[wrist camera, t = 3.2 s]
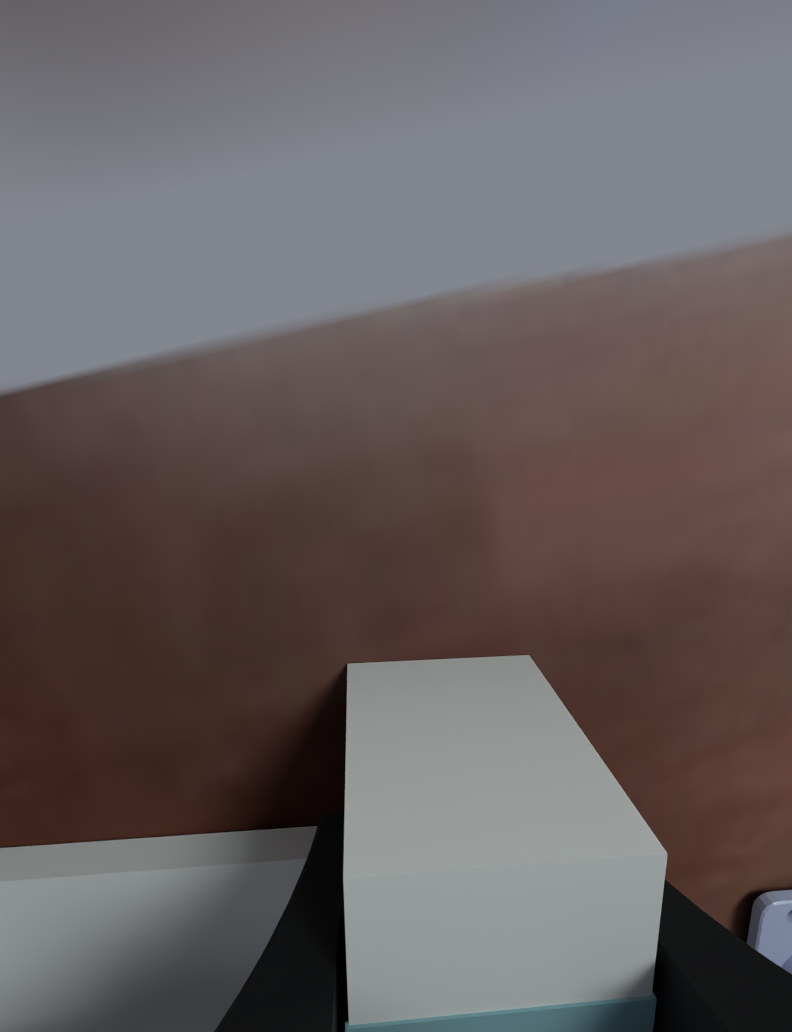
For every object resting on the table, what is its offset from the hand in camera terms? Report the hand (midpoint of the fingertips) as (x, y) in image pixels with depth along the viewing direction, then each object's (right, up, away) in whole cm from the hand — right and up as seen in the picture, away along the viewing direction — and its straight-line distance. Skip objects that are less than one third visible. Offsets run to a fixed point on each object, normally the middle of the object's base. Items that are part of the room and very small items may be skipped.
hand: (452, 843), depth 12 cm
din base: (-8, -5, +2) cm, 9 cm away
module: (0, 0, +2) cm, 2 cm away
